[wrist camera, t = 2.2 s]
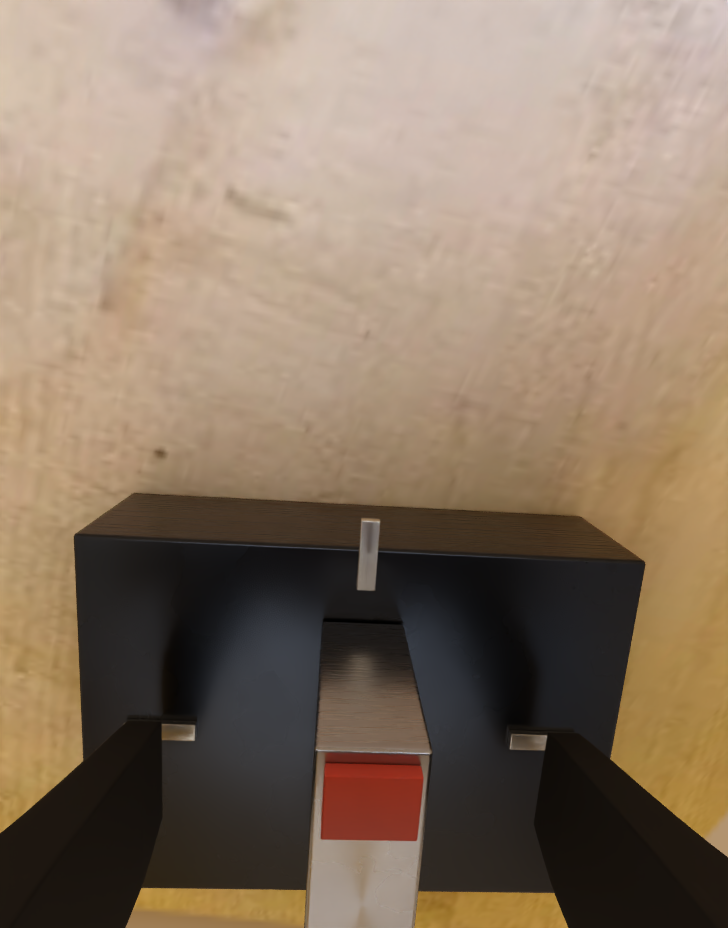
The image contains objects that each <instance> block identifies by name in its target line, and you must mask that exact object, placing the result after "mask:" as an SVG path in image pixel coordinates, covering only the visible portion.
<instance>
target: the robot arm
mask: <svg viewBox="0 0 728 928" xmlns="http://www.w3.org/2000/svg"><path fill="white" fill-rule="evenodd" d="M162 818H163V806H162V722H150V721H127V722H126V723H125V724H124V725H122V726H121V727H120V728H119V729H118V730H117V731H116V732H115V733H113V734H112V735H111V736H110V737H109V738H108V739H107V740H106V741H105V742H104V743H102V744H101V745H100V746H99V747H98V748H97V749H96V750H95V751H94V752H93V753H92V754H91V755H89V756H88V757H87V758H86V759H85V760H84V761H83V762H82V763H81V764H80V765H79V766H77V767H76V768H75V769H74V770H73V771H72V772H71V773H70V774H69V775H68V776H67V777H65V778H64V779H63V780H62V781H61V782H60V783H59V784H57V785H56V786H55V787H54V788H53V789H52V790H51V791H50V792H48V793H47V794H46V795H45V796H44V797H43V798H42V799H40V800H39V801H38V802H37V803H36V804H35V805H34V806H33V807H31V808H30V809H29V810H28V811H27V812H26V813H24V814H23V815H22V816H21V817H20V818H19V819H17V820H16V821H15V822H14V823H12V824H11V825H10V826H9V827H8V828H6V829H5V830H4V831H3V832H1V833H0V928H125V927H126V925H127V922H128V920H129V917H130V915H131V912H132V910H133V908H134V905H135V903H136V900H137V898H138V895H139V892H140V890H141V887H142V885H143V882H144V879H145V876H146V873H147V869H148V866H149V863H150V859H151V856H152V853H153V849H154V846H155V842H156V839H157V835H158V832H159V828H160V825H161V821H162ZM534 827H535V831H536V834H537V838H538V841H539V845H540V849H541V852H542V856H543V859H544V863H545V866H546V869H547V872H548V876H549V879H550V882H551V885H552V888H553V891H554V893H555V896H556V898H557V901H558V903H559V906H560V908H561V910H562V913H563V915H564V918H565V920H566V923H567V925H568V928H728V857H727V856H725V855H724V854H723V853H721V852H720V851H719V850H717V849H716V848H715V847H714V846H712V845H711V844H710V843H709V842H707V841H706V840H705V839H704V838H702V837H701V836H700V835H699V834H697V833H696V832H695V831H694V830H693V829H691V828H690V827H689V826H688V825H686V824H685V823H684V822H683V821H682V820H680V819H679V818H678V817H677V816H676V815H674V814H673V813H672V812H671V811H670V810H668V809H667V808H666V807H665V806H664V805H662V804H661V803H660V802H659V801H658V800H657V799H655V798H654V797H653V796H652V795H651V794H650V793H648V792H647V791H646V790H645V789H644V788H643V787H641V786H640V785H639V784H638V783H637V782H636V781H635V780H633V779H632V778H631V777H630V776H629V775H628V774H626V773H625V772H624V771H623V770H622V769H621V768H620V767H618V766H617V765H616V764H615V763H614V762H613V761H611V760H610V759H609V758H608V757H607V756H606V755H605V754H603V753H602V752H601V751H600V750H599V749H598V748H596V747H595V746H594V745H593V744H592V743H590V742H589V741H588V740H587V739H585V738H584V737H583V736H582V735H580V734H579V733H547V740H546V746H545V753H544V759H543V766H542V772H541V779H540V785H539V792H538V799H537V805H536V812H535V818H534Z"/></svg>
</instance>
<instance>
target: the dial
mask: <svg viewBox="0 0 728 928" xmlns="http://www.w3.org/2000/svg"><path fill="white" fill-rule="evenodd" d="M432 755H433V751H432V747H431V743H430V738H429V734H428V730H427V725H426V721H425V717H424V712H423V708H422V704H421V699H420V695H419V691H418V686H417V682H416V678H415V673H414V669H413V665H412V660H411V656H410V652H409V647H408V643H407V639H406V634H405V630H404V627H403V625H395V624H370V623H345V622H323V624H322V632H321V648H320V664H319V680H318V695H317V711H316V727H315V743H314V760H313V778H312V796H311V814H310V833H309V851H308V869H307V887H306V905H305V923H304V928H414V926H415V916H416V907H417V897H418V888H419V878H420V869H421V859H422V850H423V840H424V831H425V821H426V812H427V802H428V793H429V784H430V774H431V765H432Z"/></svg>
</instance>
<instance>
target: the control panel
mask: <svg viewBox="0 0 728 928" xmlns="http://www.w3.org/2000/svg"><path fill="white" fill-rule="evenodd" d="M74 551H75V574H76V598H77V621H78V644H79V668H80V691H81V715H82V738H83V761H84V760H85V759H86V758H87V757H88V756H89V755H91V754H92V753H93V752H94V751H95V750H96V749H97V748H98V747H99V746H100V745H101V744H102V743H104V742H105V741H106V740H107V739H108V738H109V737H110V736H111V735H112V734H113V733H115V732H116V731H117V730H118V729H119V728H120V727H121V726H122V725H124V724H125V723H126V722H127V721H150V722H162V806H163V818H162V821H161V825H160V828H159V832H158V835H157V839H156V842H155V846H154V849H153V853H152V856H151V859H150V863H149V866H148V869H147V873H146V876H145V879H144V882H143V885H142V887H141V888H197V889H278V890H306V887H307V869H308V851H309V833H310V814H311V796H312V778H313V760H314V743H315V727H316V711H317V695H318V680H319V664H320V648H321V632H322V624H323V622H345V623H370V624H395V625H403V627H404V630H405V634H406V639H407V643H408V647H409V652H410V656H411V660H412V665H413V669H414V673H415V678H416V682H417V686H418V691H419V695H420V699H421V704H422V708H423V712H424V717H425V721H426V725H427V730H428V734H429V738H430V743H431V747H432V751H433V755H432V765H431V774H430V784H429V793H428V802H427V812H426V821H425V831H424V840H423V850H422V859H421V869H420V878H419V888H418V891H439V892H520V893H554V891H553V888H552V885H551V882H550V879H549V876H548V872H547V869H546V866H545V863H544V859H543V856H542V852H541V849H540V845H539V841H538V838H537V834H536V831H535V827H534V818H535V812H536V805H537V799H538V792H539V785H540V779H541V772H542V766H543V759H544V753H545V746H546V740H547V733H579V734H580V735H582V736H583V737H584V738H585V739H587V740H588V741H589V742H590V743H592V744H593V745H594V746H595V747H596V748H598V749H599V750H600V751H601V752H602V753H603V754H605V755H606V756H607V757H608V758H609V759H610V757H611V751H612V746H613V740H614V734H615V729H616V723H617V718H618V712H619V707H620V701H621V696H622V690H623V685H624V679H625V674H626V668H627V663H628V657H629V652H630V646H631V641H632V635H633V630H634V624H635V619H636V613H637V608H638V602H639V597H640V591H641V586H642V580H643V575H644V569H645V562H644V561H643V560H642V559H640V558H639V557H638V556H636V555H635V554H633V553H632V552H630V551H629V550H628V549H626V548H625V547H623V546H622V545H620V544H619V543H618V542H616V541H615V540H613V539H612V538H610V537H609V536H607V535H606V534H605V533H603V532H602V531H600V530H599V529H597V528H596V527H595V526H593V525H592V524H590V523H589V522H587V521H586V520H585V519H583V518H582V517H575V516H556V515H537V514H518V513H498V512H479V511H460V510H441V509H422V508H402V507H383V506H364V505H345V504H326V503H306V502H287V501H268V500H249V499H230V498H211V497H191V496H172V495H153V494H131V495H130V496H129V497H127V498H126V499H124V500H123V501H121V502H120V503H119V504H117V505H116V506H114V507H113V508H112V509H110V510H109V511H107V512H106V513H104V514H103V515H102V516H100V517H99V518H97V519H96V520H94V521H93V522H92V523H90V524H89V525H87V526H86V527H84V528H83V529H82V530H80V531H79V532H77V533H76V534H75V536H74Z"/></svg>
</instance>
